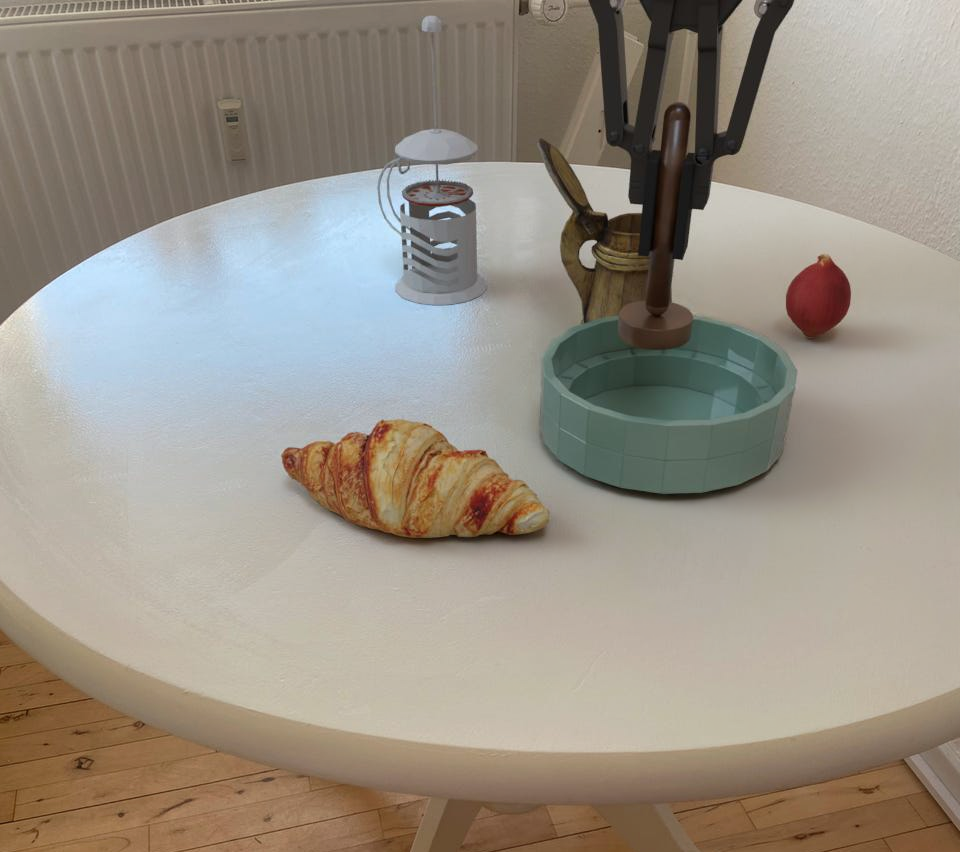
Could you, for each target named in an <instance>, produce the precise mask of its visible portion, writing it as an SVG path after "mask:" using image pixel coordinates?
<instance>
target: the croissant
mask: <svg viewBox="0 0 960 852" xmlns="http://www.w3.org/2000/svg"><path fill="white" fill-rule="evenodd" d="M281 462H282V466H283V469H284V470H285V472H286V473H287V475H288V476H289V477H290V478H291V479H293V480H294V481H295V482H298V483H299V484H300V485H301V486H303V488H305V489H306V491H308V493H309V495H310V496H311V498H312V499H313V500H314V502H317V503H319V505H320V507H323V508H326V509H327V510H328V511H329V512H333V513H336V514H338V515H340V516H341V517H342V518H344V519H345V520H346V521H348V522H350V523H352V524H355V525H357V526H360V527H363V528H367V529H368V528H369V529H371V530H379V531H381V532H384V533H388V534H392V535H394V536H397V537H404V538H413V539H414V538H415V539H416V538H418V539H419V538H420V539H421V538H422V539H423V538H424V539H425V538H427V539H429V538H430V539H433V538H443V537H445V538H446V537H449V536H453V535H454V536H457V537H458V538H475V537H479V536H480V535H493V534H494V533H496V532H501V533H503V534H507V535H510V536H515V535H516V536H517V535H524V534H530V533H534V532H537V531H539V530H541V529H543V528H544V527H546V526H547V525H548V523H549V522H550V510H549V508H546V506H544V505H543V503H542V501H541V499H540V498H538V497H537V494H536V493H535V492H534V491H533V489H531V488H530V487H529V485H528V484H527V483H526V482H525V481H523V480H520V479H512V478H510V477H509V474H508V473H507V472H505V471H504V469H503V468H502V467H501V466H500V464H499V463H498V462H497V461H496V459H493V458H491V457H489V455H488V454H487V451H486V450H484V449H467V450H462V451H461V450H459V449H458V448H457V447H456V446H455V445H453V444H452V443H450V442H449V441H448V439H447V437H446V436H445V435H444V434H443V433H442V432H440V431H439V430H438V429H436V428H434V427H433V426H432V425H430V424H429V423H425V422H419V421H412V420H406V419H389V420H387V419H386V420H384V419H381V420H380V421H378V422H377V423H376V424H375V426H374V427H373V429H372V430H371V432H370V433H369V434H367V433H363V432H358V431H356V432H354V431H353V432H348V433H347V434H346V435H344V436H343V437H342V438H341V439H340V441H338V442H336V443H334V442H332V441H330V440H325V441H323V440H322V441H317V440H316V441H314V442H311V443H309V444H306V445H305V446H303V447H302V448H300V447H296V446H295V447H294V446H292V447H291V446H290V447H286V448H285V449H284V451H283V452H282V453H281Z"/></svg>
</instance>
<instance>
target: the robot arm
mask: <svg viewBox="0 0 960 852" xmlns="http://www.w3.org/2000/svg"><path fill="white" fill-rule="evenodd" d="M587 1H588V3H589V6H590V9H591V11H592V13H593V16H594V19H595V21H596V23H597V29H598V30H597V31H598V32H597V33H598V44H599V56H600V58H599V60H600V73H601V84H602V86H601V88H602V100H603V113H604V114H603V116H604V117H603V118H604V130H605V140H606V142H607V144H608V145H609V146H611V147H618V148H620V149H623V150H625V151H626V152H627V153H628V155H629V157H630V171H629V183H628V192H627V193H628V194H627V196H628V200H629V204H630V205H639V206H640V205H641V206H642V207H641V208H642V209H641V213H642V217H641V227H640V238H639V249H638V256H647V257H648V256H649V254H650V251H651V242H652V232H653V222H654V212H655V202H656V192H657V182H658V172H659V162H660V150H661V149H660V150H659V149H653V147H654V146H653V145H654V143H655V140H656V137H655V136H656V132H657V125H658V122H659V115H660V109H661V106H662V105H661V104H662V98H663V95H664V94H663V93H664V88H665V83H666V82H665V81H666V76H667V71H668V66H669V60H670V55H671V49H672V43H673V39H674V36H675V32H677V31H682V30H688V31H690V32H693V33H695V34H697V72H696V73H697V74H696V77H697V78H696V99H695V101H696V103H695V105H696V106H695V108H696V109H695V133H694V152H687V155H686V159H685V160H684V162H683V167H682V176H681V185H680V193H679V202H678V211H677V220H676V229H675V238H674V247H673V255H672V259H674V260H679V261H683V260H684V257H685V255H686V252H687V249H688V245H689V240H690V239H689V238H690V230H691V229H690V228H691V222H692V214H693V213H692V212H693V210H699V211H704V209H705V207H706V206H707V204H708V201H709V199H710V194H711V187H712V181H713V172H714V164H715V161H716V160H717V159H719V158H722V157H726V156H734V155H737V154H738V153H739V152H740V150H741V149H742V146H743V144H744V140H745V136H746V134H747V129H748V126H749V123H750V120H751V116H752V114H753V109H754V106H755V103H756V99H757V95H758V94H759V89H760V85H761V82H762V79H763V75H764V72H765V69H766V65H767V63H768V59H769V55H770V51H771V48H772V45H773V41H774V38H775V34H776V32H777V30H778V29H779V27H780V26H781V24H782V22H784V19H786V17H787V16H788V14H789V12H790V11H791V9H792V8H793V5H794V4H795V0H755V2H754V5H753V12H754V14H755V15H756V17H757V18H759V21H758V24H757V26H756V28H755V30H754V34H753V35H752V36H753V37H752V41H751V44H750V47H749V50H748V54H747V58H746V61H745V65H744V68H743V72H742V75H741V79H740V82H739V86H738V89H737V93H736V96H735V100H734V104H733V107H732V111H731V114H730V119H729V122H728V125H727V129H726V130H725V131H724V130H723V131H721V132H718V126H719V125H718V124H719V123H718V122H719V102H720V101H719V100H720V81H721V62H722V61H721V60H722V59H721V58H722V56H721V55H722V42H723V32H724V24H726V23H727V21H728V20H729V18H730V17H731V16H732V15H733V13H734V12H735V11H736V10H737V8H738V7H739V6H740V5H741V3H742V2H743V1H744V0H638V1H639V3H640V5H641V7H642V8H643V11H644V13H645V15H646V16H647V18H648V21H650V28H649V34H648V39H647V50H646V56H645V57H646V58H645V63H644V70H643V76H642V82H641V88H640V95H639V99H638V105H637V110H636V111H637V112H636V117H635V124H634V125H632V124H630V115H629V114H630V113H629V98H628V97H629V94H628V79H627V62H626V60H627V59H626V45H625V27H624V25H625V24H624V15H623V11H622V9H623V8H624V7H625V5H626V4H627V1H628V0H587Z"/></svg>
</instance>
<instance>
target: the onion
mask: <svg viewBox="0 0 960 852" xmlns="http://www.w3.org/2000/svg"><path fill="white" fill-rule="evenodd" d="M851 299H852V289H851V284H850V281H849V279H848V276H847V275H846V274H845V272H844V271H843V269H841V268H840V267H839V266H838V265H837V264H836V263H835V262H834V260H833V259H832V257H831V256H830V254H828V253H821V254H820V255H817V261H816V262H815V263H812V264H809V265H808V266H806V267H805V268H803V269H802V270H801V271H800V272H799V273H797V275H796V276H795V277H794V278H793V279H792V281H791V282H790V284H789V286H788V287H787V291H786V293H785V311H786V313H787V316H788V318H789V319H790V320H791V322H792V323H793V324H794V325H795V326H796V327H797V328H798V329H799V330H800V331H801V332H802V334H803V335H804V336H805V337H806V338H807V339H814V338H817V337H818V336H821V335H824V334H825V333H828V332H830V331H831V330H832V329H834V328H835V327H837V325H839V324H841V322H842V321H843V319H845V317H846V316H847V314H848V312H849V309H850V307H851Z"/></svg>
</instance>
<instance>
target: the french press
mask: <svg viewBox="0 0 960 852" xmlns="http://www.w3.org/2000/svg"><path fill="white" fill-rule="evenodd" d="M442 30H443V26H442V21H441V19H439V17H438V16H436V15H426V16H425V17H424V18H423V19H422V22H421V31H422V32H425V33H430V40H431V41H430V42H431V43H430V44H431V71H432V73H431V74H432V96H433V97H432V98H433V99H432V100H433V102H432V103H433V123H434V124H433V127H434V128H431V129H422V130H420V131H418V132H415V133H412V134H411V135H408V136H406V137H404V138H403V139H401V141H400V142H399V143H397V144H396V145H395V146H394V153H395V154H396V155H397V156H398V158H394V159H392V160H391V161H390V162H388V163H387V164H385V166H384V167H383V168H381V171H380V174H379V176H378V180H377V186H376V189H377V199H378V206H379V208H380V211H381V214H382V216H383V219H384V220H385V222H386V223H387V224H388V226H389V227H390V228H391V229H392V230H394V231H395V232H396V233H397V235H399V236H400V237H401V249H402V263H403V264H402V266H403V268H402V269H403V275H402V277H400V279H398V281H397V282H396V283H394V288H395V289H394V290H395V293H396V294H397V295H398V296H400V298H402V299H404V300H407V301H410V302H413V303H416V304H422V305H429V306H443V305H445V306H446V305H447V306H448V305H455V304H461V303H465V302H470V301H471V300H474V299H476V298H478V297H480V296H482V295H483V294H484V292H485V291H486V290H487V289H488V285H487V281H486V280H485V278H483V277H482V276H481V275H480V274H478V245H477V244H478V242H477V239H478V238H477V237H478V235H477V232H478V231H477V205H476V202H475V201H473V200H471V198H472V197H473V195H474V189H473V188H472V186H470V185H468V183H464V182H461V181H456V180H454V181H453V180H449V179H448V180H447V179H443V178H442V179H441V180H440V179H439V166H441V165H442V166H443V165H446V166H447V165H452V164H458V163H462V162H465V161H468V160H471V159H472V158H473V157H474V156H476V154H477V152H478V151H479V149H478V144H476V143H475V142H474V141H472V140H471V139H469V138H468V137H467V136H464V135H462V134H460V133H458V132H456V131H453V130H448V129H443V128H438V127H437V125H438V124H437V102H436V101H437V99H436V72H435V71H436V69H435V45H434V42H435V41H434V40H435V39H434V33H436V32H442ZM401 160H404V161H406V162H407V163H406V165H407V166H406V169H405V170H402V163H401V162H400V161H401ZM411 163H413V164H422V165H435V180H434V179H432V180H431V179H429V180H427V179H426V180H422V181H421V180H420V181H417V182H414V183H410V184H408V185H406V186H405V188H403V189H402V191H401V192H402V193H401V196H402V198H403V199H404V200H405V201H407V202H408V213H409V214H406V207H405V206H406V205H405V203H406V202H403V203H402V204H401V205H400V206H399V214H400V215H398V214H397V213H396V210H395V208H394V206H393V203H392V202H393V201H392V199H391V195H390V178H391V173H392V172H393V171H392V170H393V168H394V167H395V166H396V164H397V167H398V172H399V174H400V175H404V174H406V173H407V172H408V171H409V170H410V168H411ZM388 167H389V170H388V173H387V176H386V196H387V201H388V203H389V207H390V208H391V212H392V214H393V216H394V217H395V219H396V220H397V221H398V222H399V224H400V230H398V228H397V227H395V226H394V225H393V224H392V222H390V220H389V219H388V218H387V216H386V213H385V211H384V208H383V203H382V197H381V188H380V187H381V184H382V183H381V182H382V179H383V176H384V173H385V171H386V170H387V169H388ZM449 206H451V207H454V208H457V209H459V210H460V211H461V212H462V213H463V214H464V215H461V214H459V213H456V212H453V211H450V210H447V211H442V212H438V213H435V214H433V215H430V211H432V210H435V209H436V208H442V207H449ZM399 216H400V217H399ZM407 230H408V231H409V232H407ZM408 241H410V245H408ZM449 243H451V244H454V245H455V246H452V247H446V248H442V247H436V246H438V245H443V244H449ZM408 253H409V254H410V255H411V258H410V257H409V255H408ZM409 266H411V269H409Z"/></svg>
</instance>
